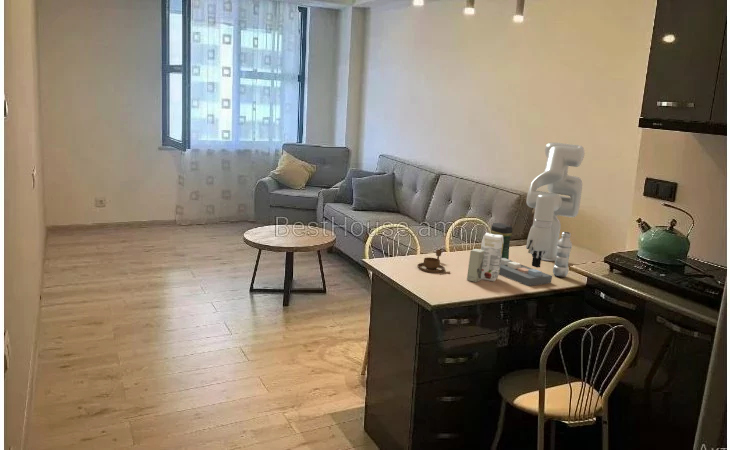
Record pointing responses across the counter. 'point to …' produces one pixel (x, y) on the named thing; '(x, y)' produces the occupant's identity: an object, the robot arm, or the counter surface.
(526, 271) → the key
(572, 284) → the counter surface
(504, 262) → the key
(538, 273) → the key
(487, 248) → the juice carton
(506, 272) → the keypad
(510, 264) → the key
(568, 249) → the plastic bottle
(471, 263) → the box
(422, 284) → the counter surface
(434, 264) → the brown cup and saucer
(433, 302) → the counter surface
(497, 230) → the coffee jar
